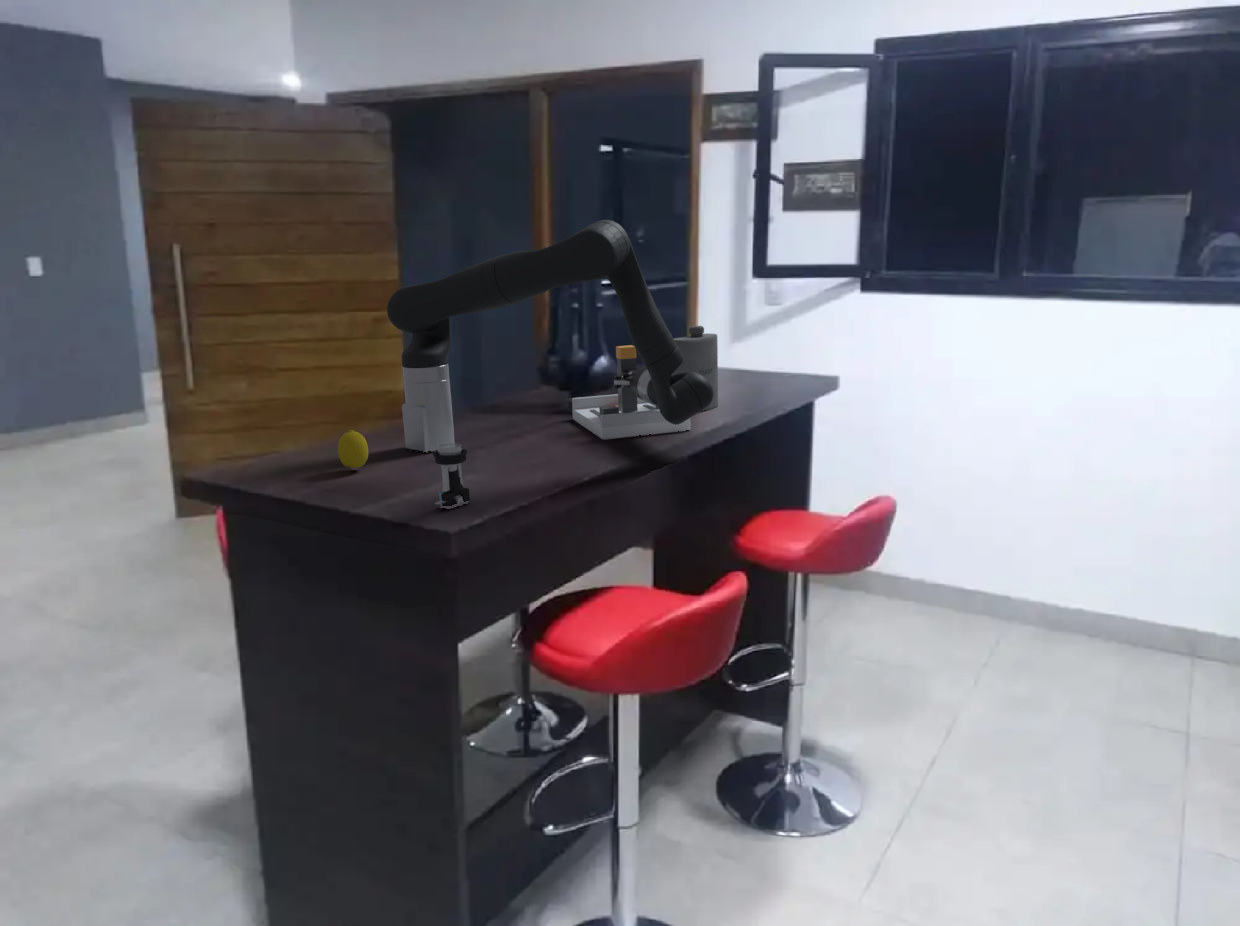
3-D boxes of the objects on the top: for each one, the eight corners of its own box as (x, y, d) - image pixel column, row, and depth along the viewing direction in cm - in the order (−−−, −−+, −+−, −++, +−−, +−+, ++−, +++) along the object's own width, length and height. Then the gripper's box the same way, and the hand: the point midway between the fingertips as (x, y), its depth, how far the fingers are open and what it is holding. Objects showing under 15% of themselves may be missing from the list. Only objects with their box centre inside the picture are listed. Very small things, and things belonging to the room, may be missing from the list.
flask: (687, 416, 212) (686, 330, 207) (668, 413, 216) (666, 329, 211) (724, 405, 223) (724, 323, 218) (705, 403, 226) (704, 322, 221)
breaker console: (691, 430, 196) (690, 405, 195) (602, 439, 191) (601, 413, 189) (653, 411, 219) (652, 388, 217) (572, 419, 213) (571, 396, 211)
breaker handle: (638, 411, 204) (636, 346, 200) (622, 412, 203) (620, 347, 199) (633, 408, 207) (631, 345, 203) (618, 410, 205) (615, 346, 202)
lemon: (345, 467, 174) (341, 427, 172) (374, 467, 174) (369, 426, 172) (336, 475, 169) (331, 433, 167) (365, 474, 169) (360, 432, 167)
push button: (448, 515, 142) (442, 453, 140) (424, 510, 145) (419, 449, 143) (478, 504, 147) (473, 444, 145) (454, 499, 150) (449, 441, 148)
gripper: (685, 365, 186) (656, 355, 202) (624, 370, 182) (599, 359, 198) (685, 401, 188) (657, 388, 204) (625, 406, 184) (600, 393, 200)
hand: (628, 374), depth 201 cm, fingers closed
